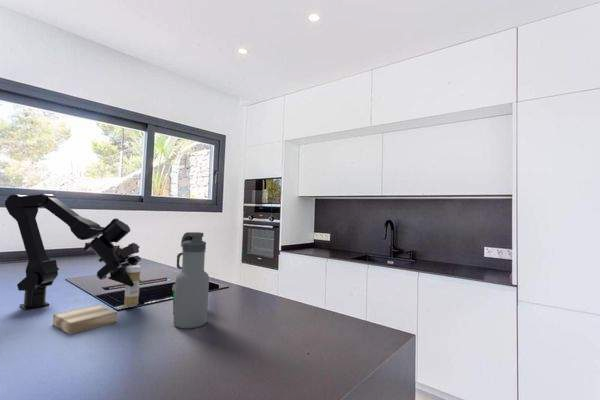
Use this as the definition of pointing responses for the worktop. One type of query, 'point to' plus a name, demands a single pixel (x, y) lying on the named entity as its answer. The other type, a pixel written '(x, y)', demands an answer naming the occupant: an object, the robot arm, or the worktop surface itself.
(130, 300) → the sprinkles bottle
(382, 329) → the worktop surface
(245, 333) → the worktop surface
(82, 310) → the oak stand
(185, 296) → the water bottle
